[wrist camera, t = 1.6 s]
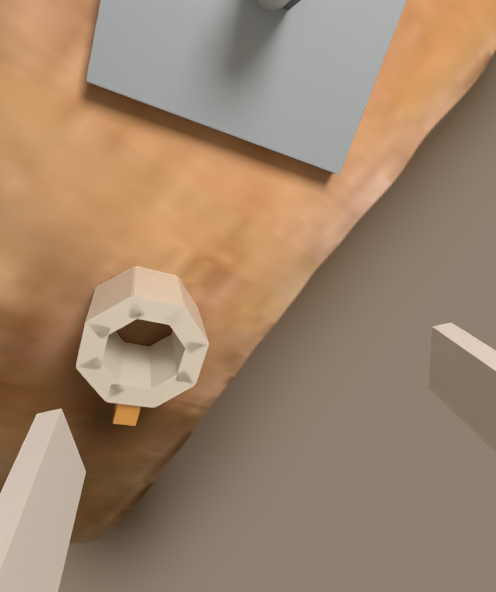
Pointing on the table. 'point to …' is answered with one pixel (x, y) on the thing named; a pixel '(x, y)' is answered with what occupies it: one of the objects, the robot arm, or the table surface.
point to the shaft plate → (250, 66)
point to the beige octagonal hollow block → (139, 358)
